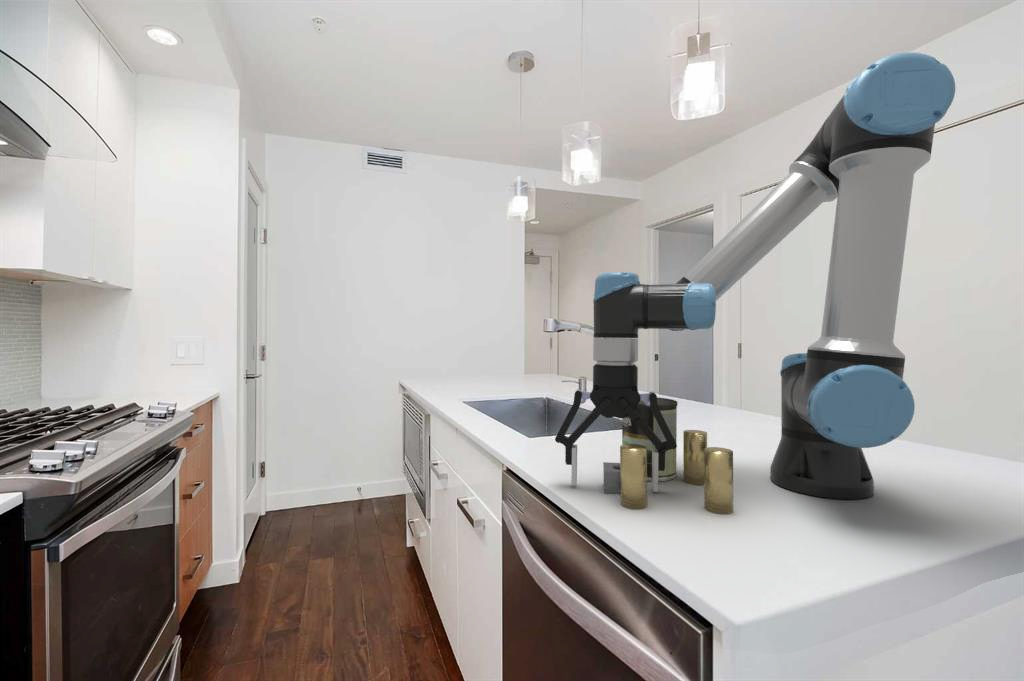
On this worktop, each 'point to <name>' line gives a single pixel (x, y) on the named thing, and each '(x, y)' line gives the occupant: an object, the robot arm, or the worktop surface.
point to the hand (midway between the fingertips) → (613, 486)
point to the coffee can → (637, 436)
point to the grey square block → (611, 478)
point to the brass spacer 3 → (718, 480)
